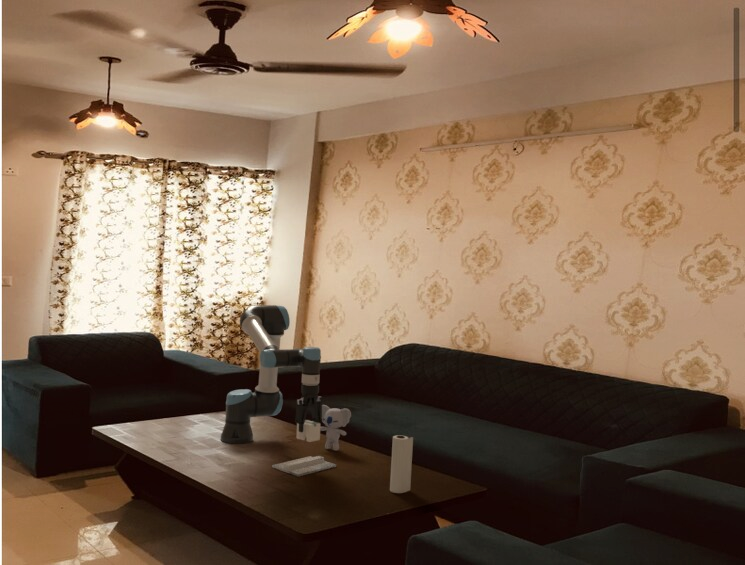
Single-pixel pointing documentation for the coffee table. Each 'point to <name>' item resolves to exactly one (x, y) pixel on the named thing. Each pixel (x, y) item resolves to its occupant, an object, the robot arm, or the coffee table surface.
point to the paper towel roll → (401, 464)
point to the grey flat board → (304, 466)
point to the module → (310, 431)
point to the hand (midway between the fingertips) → (307, 438)
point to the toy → (334, 424)
